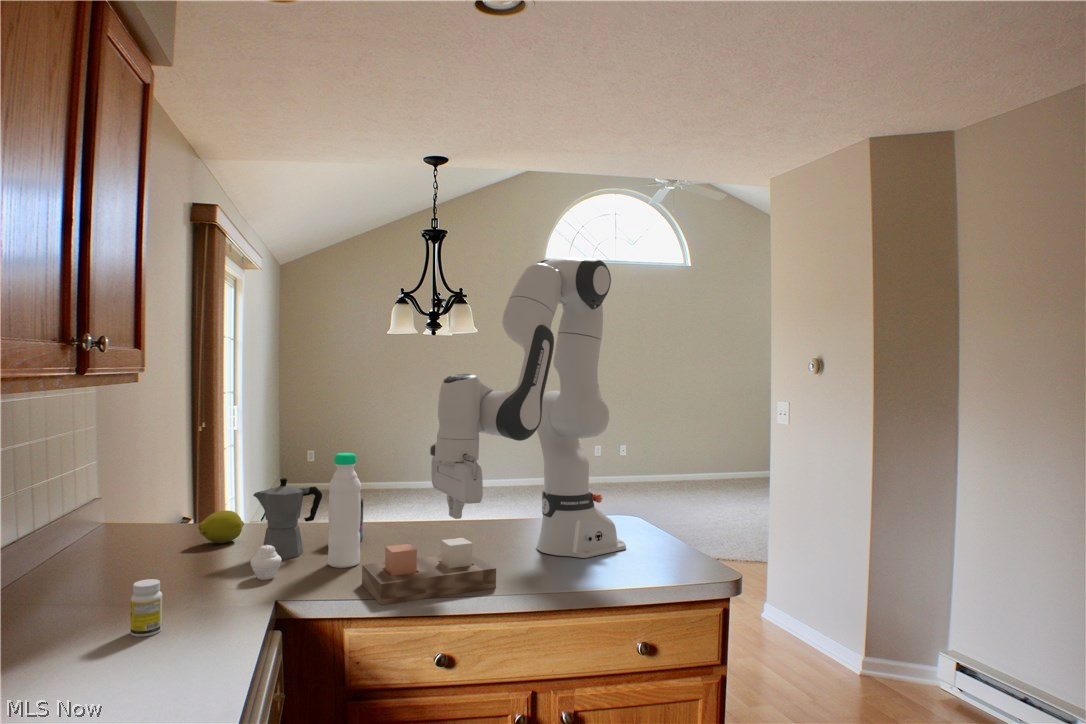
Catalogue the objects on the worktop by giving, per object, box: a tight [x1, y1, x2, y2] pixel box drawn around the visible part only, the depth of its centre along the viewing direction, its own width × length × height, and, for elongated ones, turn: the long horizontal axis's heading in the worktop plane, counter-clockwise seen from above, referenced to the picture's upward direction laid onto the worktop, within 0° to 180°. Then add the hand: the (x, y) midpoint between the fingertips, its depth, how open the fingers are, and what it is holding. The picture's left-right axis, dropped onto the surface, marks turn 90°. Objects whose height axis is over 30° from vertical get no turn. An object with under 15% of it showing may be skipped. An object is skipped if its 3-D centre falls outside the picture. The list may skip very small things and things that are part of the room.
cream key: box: [440, 537, 473, 569], centre depth 152 cm, size 5×5×5 cm
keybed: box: [361, 552, 497, 606], centre depth 149 cm, size 24×14×4 cm, turn 118°
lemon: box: [198, 510, 245, 544], centre depth 180 cm, size 11×8×8 cm
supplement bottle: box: [130, 578, 163, 638], centre depth 123 cm, size 5×5×8 cm
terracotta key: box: [384, 543, 418, 576], centre depth 147 cm, size 5×5×5 cm
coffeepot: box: [252, 477, 323, 560], centre depth 171 cm, size 15×9×18 cm, turn 113°
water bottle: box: [327, 452, 362, 569], centre depth 164 cm, size 7×7×25 cm
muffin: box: [250, 545, 283, 581], centre depth 153 cm, size 6×6×7 cm
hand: (455, 517), depth 152 cm, fingers closed
